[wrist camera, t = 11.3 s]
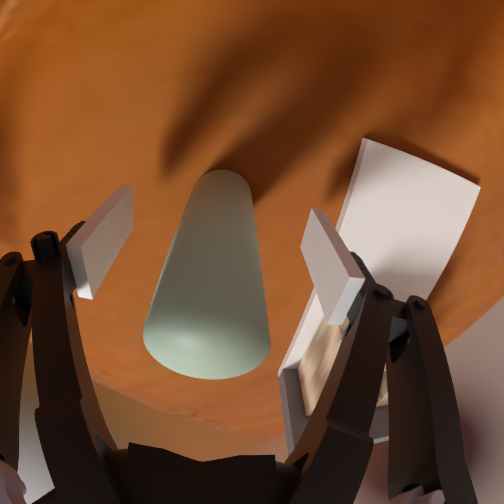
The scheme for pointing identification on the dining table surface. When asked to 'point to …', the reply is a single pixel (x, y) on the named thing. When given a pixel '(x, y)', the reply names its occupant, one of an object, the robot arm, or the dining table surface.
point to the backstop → (386, 249)
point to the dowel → (211, 286)
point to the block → (325, 364)
